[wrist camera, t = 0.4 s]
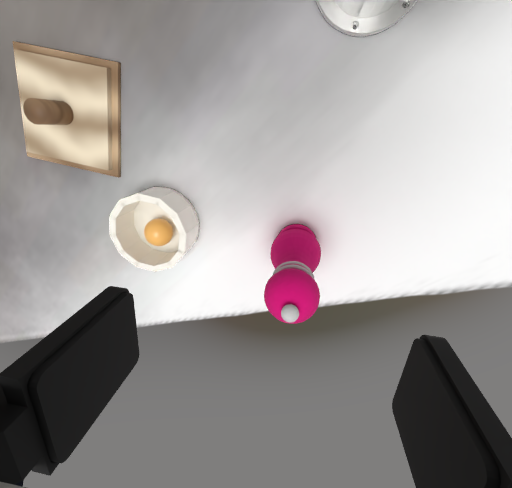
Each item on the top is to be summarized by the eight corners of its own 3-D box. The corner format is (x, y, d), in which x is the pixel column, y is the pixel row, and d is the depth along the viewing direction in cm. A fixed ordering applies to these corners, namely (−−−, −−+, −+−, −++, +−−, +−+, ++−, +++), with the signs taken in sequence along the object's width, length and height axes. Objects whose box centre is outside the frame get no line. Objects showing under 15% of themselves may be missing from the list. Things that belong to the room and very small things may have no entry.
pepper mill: (292, 270, 48) (284, 359, 30) (264, 238, 47) (237, 310, 28) (329, 246, 45) (344, 326, 27) (300, 211, 44) (295, 271, 26)
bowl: (132, 179, 46) (108, 186, 41) (203, 195, 46) (189, 205, 40) (131, 246, 51) (110, 260, 46) (195, 262, 50) (181, 278, 45)
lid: (20, 50, 41) (-24, 39, 36) (111, 69, 40) (80, 60, 35) (32, 151, 47) (-5, 154, 41) (112, 169, 46) (86, 175, 40)
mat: (16, 42, 41) (12, 41, 41) (120, 63, 40) (118, 62, 40) (30, 155, 48) (27, 156, 47) (120, 176, 47) (118, 177, 46)
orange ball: (153, 212, 47) (138, 220, 43) (178, 218, 47) (166, 227, 43) (152, 236, 49) (138, 246, 45) (176, 242, 48) (164, 253, 44)
